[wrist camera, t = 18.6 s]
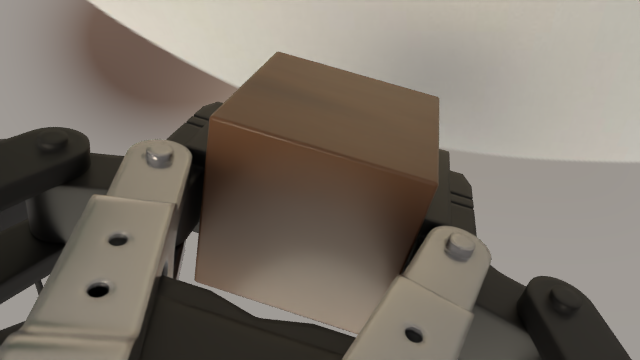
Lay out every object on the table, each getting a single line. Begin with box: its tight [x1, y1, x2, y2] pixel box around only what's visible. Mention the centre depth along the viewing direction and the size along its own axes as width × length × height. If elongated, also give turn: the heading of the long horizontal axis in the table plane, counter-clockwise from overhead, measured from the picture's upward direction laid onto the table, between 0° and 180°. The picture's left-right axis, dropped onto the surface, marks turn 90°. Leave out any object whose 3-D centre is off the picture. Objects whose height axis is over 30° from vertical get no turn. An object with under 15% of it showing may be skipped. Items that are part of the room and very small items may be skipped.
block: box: [195, 52, 439, 334], centre depth 12 cm, size 4×4×4 cm
